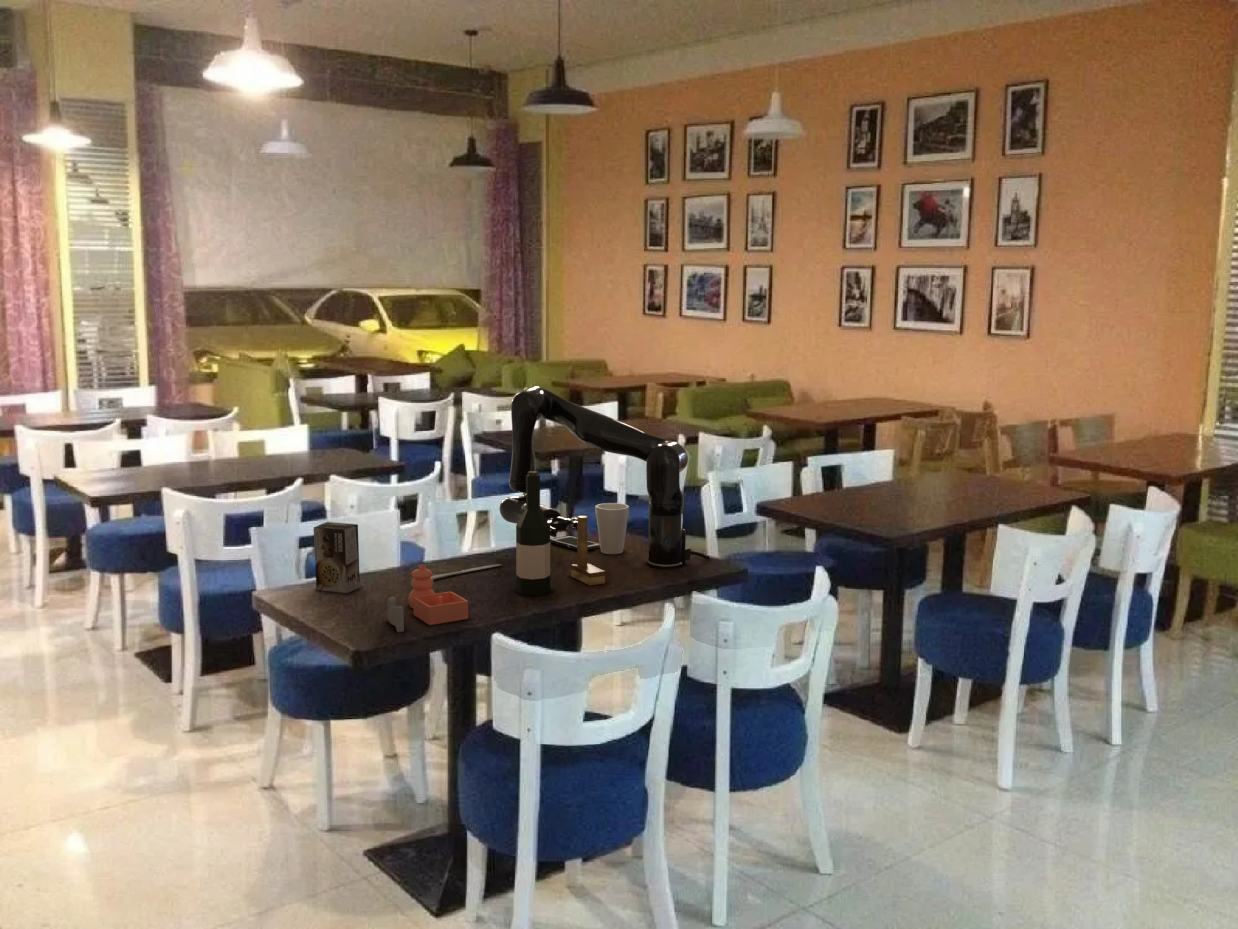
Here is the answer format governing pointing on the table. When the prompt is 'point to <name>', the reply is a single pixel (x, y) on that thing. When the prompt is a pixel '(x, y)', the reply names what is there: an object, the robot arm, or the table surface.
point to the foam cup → (612, 526)
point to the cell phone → (573, 542)
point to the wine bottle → (533, 543)
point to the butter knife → (461, 571)
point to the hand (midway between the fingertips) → (569, 531)
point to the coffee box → (336, 557)
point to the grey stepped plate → (395, 614)
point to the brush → (585, 558)
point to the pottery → (434, 600)
